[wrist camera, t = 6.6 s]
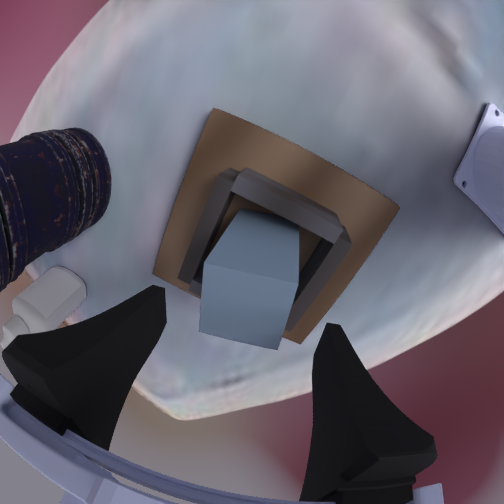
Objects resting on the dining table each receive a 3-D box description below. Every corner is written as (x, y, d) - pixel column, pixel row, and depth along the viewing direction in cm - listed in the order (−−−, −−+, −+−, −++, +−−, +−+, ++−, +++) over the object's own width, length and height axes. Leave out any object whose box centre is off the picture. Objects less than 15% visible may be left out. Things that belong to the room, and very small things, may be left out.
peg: (299, 220, 18) (298, 283, 11) (286, 271, 20) (277, 350, 13) (240, 207, 19) (204, 262, 12) (232, 259, 20) (198, 331, 13)
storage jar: (54, 113, 18) (-83, 147, 5) (126, 148, 19) (-48, 209, 6) (37, 203, 23) (-69, 266, 9) (99, 247, 23) (-14, 346, 10)
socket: (395, 203, 18) (416, 222, 14) (300, 336, 24) (299, 369, 20) (217, 108, 17) (197, 105, 13) (157, 268, 23) (135, 293, 20)
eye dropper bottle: (59, 252, 25) (-17, 313, 14) (92, 289, 26) (23, 362, 15) (50, 273, 27) (-16, 331, 16) (80, 307, 28) (20, 374, 17)
